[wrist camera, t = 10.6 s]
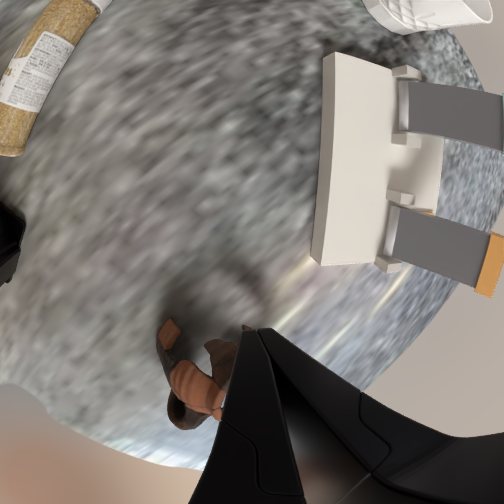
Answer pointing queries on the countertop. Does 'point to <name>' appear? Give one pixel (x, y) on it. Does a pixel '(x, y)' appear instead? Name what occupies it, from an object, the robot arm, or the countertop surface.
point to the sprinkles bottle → (40, 67)
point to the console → (368, 163)
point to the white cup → (428, 14)
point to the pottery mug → (195, 379)
